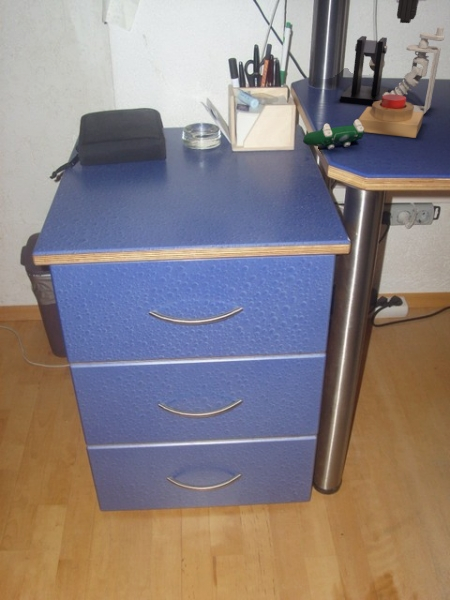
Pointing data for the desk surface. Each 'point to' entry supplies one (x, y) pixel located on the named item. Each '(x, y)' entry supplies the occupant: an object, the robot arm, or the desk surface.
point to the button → (393, 101)
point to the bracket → (356, 91)
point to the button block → (391, 120)
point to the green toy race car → (335, 135)
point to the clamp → (420, 72)
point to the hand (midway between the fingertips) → (405, 22)
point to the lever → (371, 52)
